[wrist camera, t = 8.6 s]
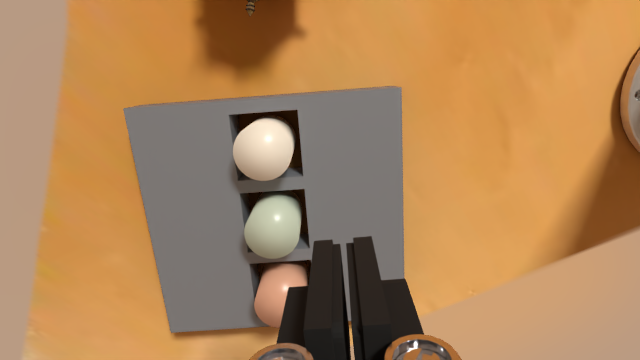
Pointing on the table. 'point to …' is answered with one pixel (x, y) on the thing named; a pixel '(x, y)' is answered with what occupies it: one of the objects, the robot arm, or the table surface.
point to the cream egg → (265, 148)
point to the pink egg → (278, 289)
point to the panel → (233, 187)
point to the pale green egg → (274, 224)
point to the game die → (250, 6)
